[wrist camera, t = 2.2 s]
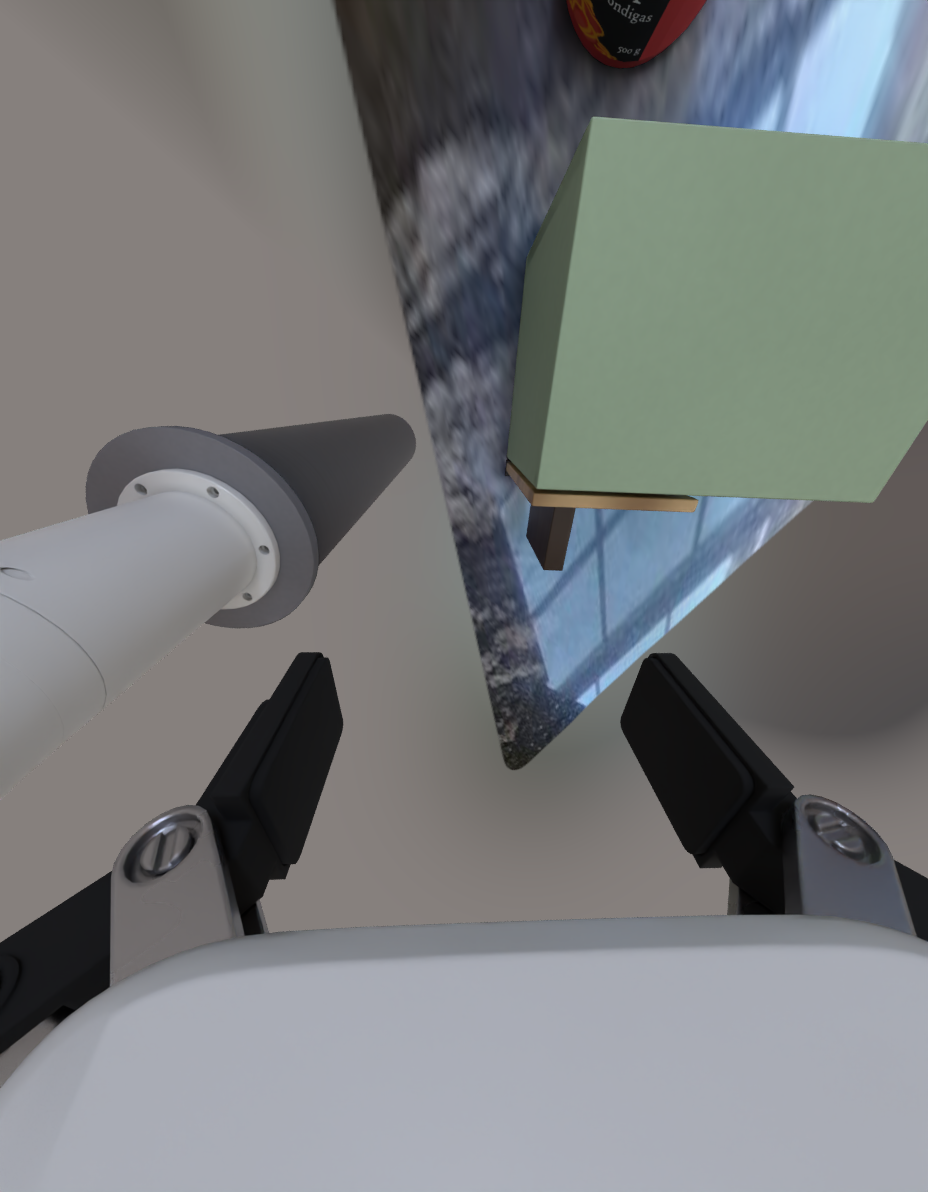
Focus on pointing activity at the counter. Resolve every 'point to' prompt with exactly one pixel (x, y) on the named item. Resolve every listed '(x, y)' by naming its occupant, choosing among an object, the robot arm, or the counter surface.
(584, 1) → the canned food
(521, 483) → the sliding door
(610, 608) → the counter surface
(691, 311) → the cupboard
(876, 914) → the robot arm
